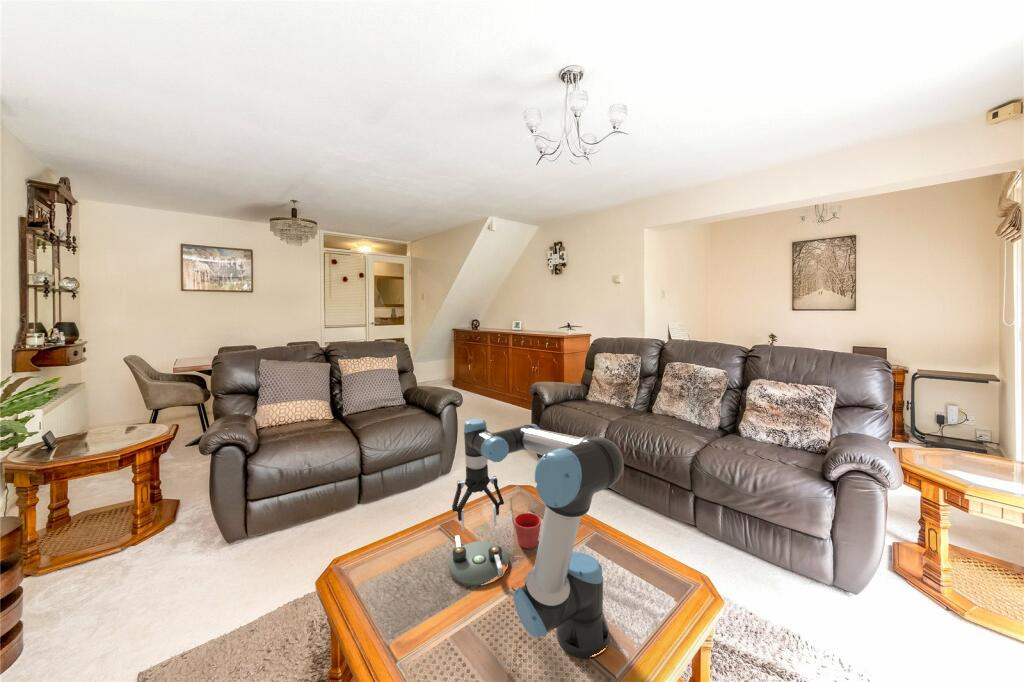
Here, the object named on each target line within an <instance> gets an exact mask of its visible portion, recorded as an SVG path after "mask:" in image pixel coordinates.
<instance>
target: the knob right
mask: <svg viewBox="0 0 1024 682" xmlns="http://www.w3.org/2000/svg"><path fill="white" fill-rule="evenodd" d="M488 553H489V560H490V561H491V562H495V566H496V570H497V574H498V576H502V575H503V569H502V564H501V561H500V560H501V559H502V548H501V547H499V546H492V547H490V548H489V550H488ZM503 576H504V575H503ZM503 576H502V577H503Z"/></svg>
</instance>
